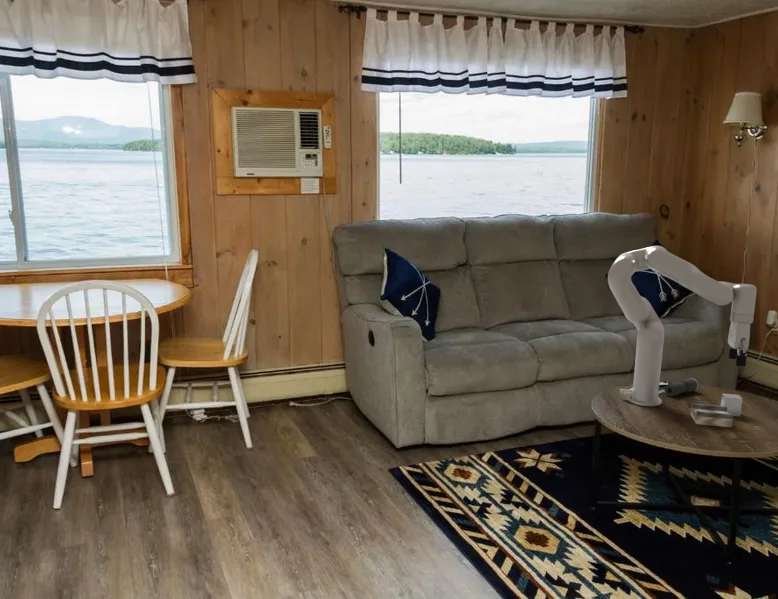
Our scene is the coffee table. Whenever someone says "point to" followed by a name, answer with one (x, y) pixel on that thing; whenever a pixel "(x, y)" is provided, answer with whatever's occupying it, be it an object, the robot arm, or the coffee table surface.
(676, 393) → the flashlight
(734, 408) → the tall white block
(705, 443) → the coffee table surface
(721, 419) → the cradle
